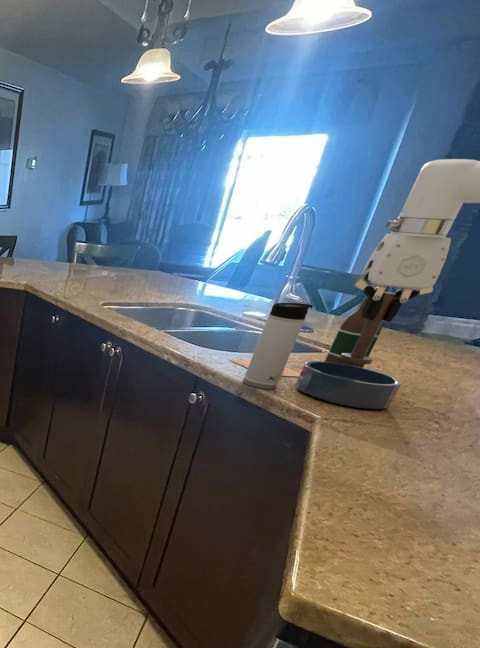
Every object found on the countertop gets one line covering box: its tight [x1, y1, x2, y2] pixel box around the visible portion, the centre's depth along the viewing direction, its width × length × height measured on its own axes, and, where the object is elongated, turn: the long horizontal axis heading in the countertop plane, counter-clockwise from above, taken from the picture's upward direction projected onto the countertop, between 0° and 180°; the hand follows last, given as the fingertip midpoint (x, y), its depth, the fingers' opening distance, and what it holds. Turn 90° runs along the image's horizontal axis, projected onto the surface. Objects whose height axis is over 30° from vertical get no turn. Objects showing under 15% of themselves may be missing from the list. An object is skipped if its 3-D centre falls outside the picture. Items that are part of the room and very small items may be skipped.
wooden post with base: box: [340, 291, 396, 365], centre depth 105 cm, size 5×5×15 cm
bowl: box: [294, 360, 402, 410], centre depth 110 cm, size 16×16×6 cm
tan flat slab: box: [229, 359, 301, 377], centre depth 128 cm, size 12×12×4 cm
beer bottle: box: [324, 286, 390, 368], centre depth 124 cm, size 8×8×24 cm
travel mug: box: [242, 302, 313, 390], centre depth 113 cm, size 6×7×20 cm
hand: (376, 318), depth 104 cm, fingers closed on wooden post with base
